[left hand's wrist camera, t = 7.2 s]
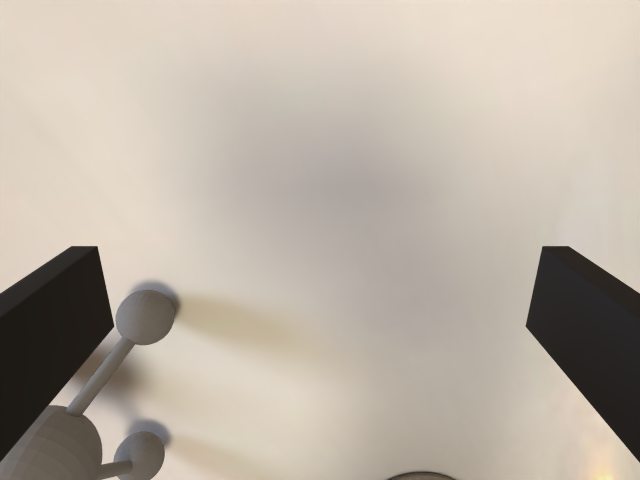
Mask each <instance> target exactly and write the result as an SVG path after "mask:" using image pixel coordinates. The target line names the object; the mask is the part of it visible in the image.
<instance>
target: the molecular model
mask: <svg viewBox="0 0 640 480" xmlns="http://www.w3.org/2000/svg"><path fill="white" fill-rule="evenodd" d="M173 322H174V309H173V306H172V304H171V302H170V301H169V300H168V298H167V297H165V296H164V295H163V294H161V293H159V292H156V291H152V290H143V291H138V292H136V293H133V294H131V295H129V296H128V297H127V298H126V299H125V300H124V301H123V302H122V303H121V304H120V306H119V308H118V310H117V314H116V326H117V329H118V331H119V333H120V334H121V336H122V339H121V340H120V341H119V342H118V344H117V345H116V346H115V347H114V349H113V350H112V351H111V353H110V354H109V355H108V356H107V358H106V359H105V360H104V362H103V363H102V364H101V365H100V367H99V368H98V369H97V371H96V372H95V373H94V374H93V376H92V377H91V378H90V380H89V381H88V382H87V383H86V385H85V386H84V387H83V388H82V390H81V391H80V392H79V394H78V395H77V396H76V397H75V399H74V400H73V401H72V403H71V404H70V405H69V406H68V408H67V407H64V406H57V405H48V406H47V407H46V408H45V410H44V411H43V412H42V413H41V414H40V416H39V417H38V418H37V419H36V420H35V422H34V423H33V424H32V425H31V426H30V428H29V429H28V430H27V431H26V432H25V434H24V435H23V436H22V437H21V438H20V440H19V441H18V442H17V443H16V444H15V445H14V447H13V448H12V449H11V450H10V451H9V453H8V454H7V455H6V456H5V457H4V459H3V460H2V461H1V462H0V480H102V479H106V478H110V477H114V476H117V477H118V478H119V479H120V480H150V479H152V478H153V477H154V476H155V475H156V474H157V473H158V471H159V470H160V468H161V467H162V464H163V461H164V456H165V451H164V446H163V443H162V441H161V440H160V439H159V438H158V437H157V436H156V435H154V434H152V433H149V432H138V433H135V434H132V435H131V436H129V437H127V438H126V439H125V440H124V441H123V442H122V443H121V444H120V446H119V447H118V449H117V451H116V453H115V456H114V462H113V463H108V464H103V465H101V463H102V443H101V439H100V436H99V434H98V431H97V429H96V427H95V426H94V424H93V423H92V422H91V421H90V420H89V419H88V418H87V417H86V416H84V415H83V413H84V411H85V410H86V409H87V407H88V406H89V405H90V403H91V402H92V401H93V399H94V398H95V397H96V395H97V394H98V393H99V391H100V390H101V389H102V387H103V386H104V385H105V383H106V382H107V381H108V379H109V378H110V377H111V375H112V374H113V373H114V371H115V370H116V369H117V367H118V366H119V365H120V363H121V362H122V361H123V359H124V358H125V357H126V356H127V354H128V353H129V352H130V350H131V349H132V348H133V346H134V345H135V344H137V345H149V344H153V343H156V342H158V341H159V340H161V339H162V338H164V337H165V336H166V335H167V334H168V333H169V331H170V330H171V328H172V325H173Z"/></svg>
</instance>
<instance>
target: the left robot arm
mask: <svg viewBox="0 0 640 480" xmlns="http://www.w3.org/2000/svg"><path fill="white" fill-rule="evenodd" d="M113 327H114V323H113V318H112V313H111V308H110V304H109V299H108V294H107V289H106V285H105V280H104V275H103V271H102V266H101V261H100V256H99V252H98V247H97V246H71V247H70V248H68V249H67V250H65V251H64V252H62V253H61V254H59V255H58V256H56V257H55V258H53V259H52V260H50V261H49V262H47V263H46V264H44V265H43V266H41V267H40V268H38V269H37V270H35V271H34V272H32V273H31V274H29V275H28V276H26V277H25V278H23V279H21V280H20V281H18V282H17V283H15V284H14V285H12V286H11V287H9V288H8V289H6V290H5V291H3V292H2V293H0V462H1V461H2V460H3V459H4V457H5V456H6V455H7V454H8V453H9V451H10V450H11V449H12V448H13V447H14V445H15V444H16V443H17V442H18V441H19V440H20V438H21V437H22V436H23V435H24V434H25V432H26V431H27V430H28V429H29V428H30V426H31V425H32V424H33V423H34V422H35V420H36V419H37V418H38V417H39V416H40V414H41V413H42V412H43V411H44V410H45V408H46V407H47V406H48V405H49V404H50V403H51V401H52V400H53V399H54V398H55V397H56V395H57V394H58V393H59V392H60V391H61V389H62V388H63V387H64V386H65V385H66V383H67V382H68V381H69V380H70V379H71V377H72V376H73V375H74V374H75V373H76V372H77V370H78V369H79V368H80V367H81V366H82V364H83V363H84V362H85V361H86V360H87V358H88V357H89V356H90V355H91V354H92V352H93V351H94V350H95V349H96V348H97V346H98V345H99V344H100V343H101V342H102V340H103V339H104V338H105V337H106V336H107V335H108V333H109V332H110V331H111V330H112V329H113ZM526 327H527V329H528V330H529V331H530V332H531V333H532V335H533V336H534V337H535V338H536V339H537V340H538V342H539V343H540V344H541V345H542V346H543V348H544V349H545V350H546V351H547V352H548V354H549V355H550V356H551V357H552V358H553V360H554V361H555V362H556V363H557V364H558V366H559V367H560V368H561V369H562V370H563V372H564V373H565V374H566V375H567V376H568V377H569V379H570V380H571V381H572V382H573V383H574V385H575V386H576V387H577V388H578V389H579V391H580V392H581V393H582V394H583V395H584V397H585V398H586V399H587V400H588V401H589V403H590V404H591V405H592V406H593V407H594V408H595V410H596V411H597V412H598V413H599V414H600V416H601V417H602V418H603V419H604V420H605V422H606V423H607V424H608V425H609V426H610V428H611V429H612V430H613V431H614V432H615V434H616V435H617V436H618V437H619V438H620V440H621V441H622V442H623V443H624V444H625V445H626V447H627V448H628V449H629V450H630V451H631V453H632V454H633V455H634V456H635V457H636V459H637V460H638V461H639V462H640V293H638V292H637V291H635V290H634V289H632V288H631V287H629V286H628V285H626V284H625V283H623V282H622V281H620V280H619V279H617V278H615V277H614V276H612V275H611V274H609V273H608V272H606V271H605V270H603V269H602V268H600V267H599V266H597V265H596V264H594V263H593V262H591V261H590V260H588V259H587V258H585V257H584V256H582V255H581V254H579V253H578V252H576V251H575V250H573V249H572V248H570V247H569V246H543V247H542V252H541V256H540V261H539V266H538V270H537V275H536V280H535V285H534V289H533V294H532V299H531V304H530V308H529V313H528V318H527V323H526ZM391 480H453V479H451V478H449V477H446V476H443V475H439V474H433V473H412V474H406V475H402V476H399V477H395V478H393V479H391Z"/></svg>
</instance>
